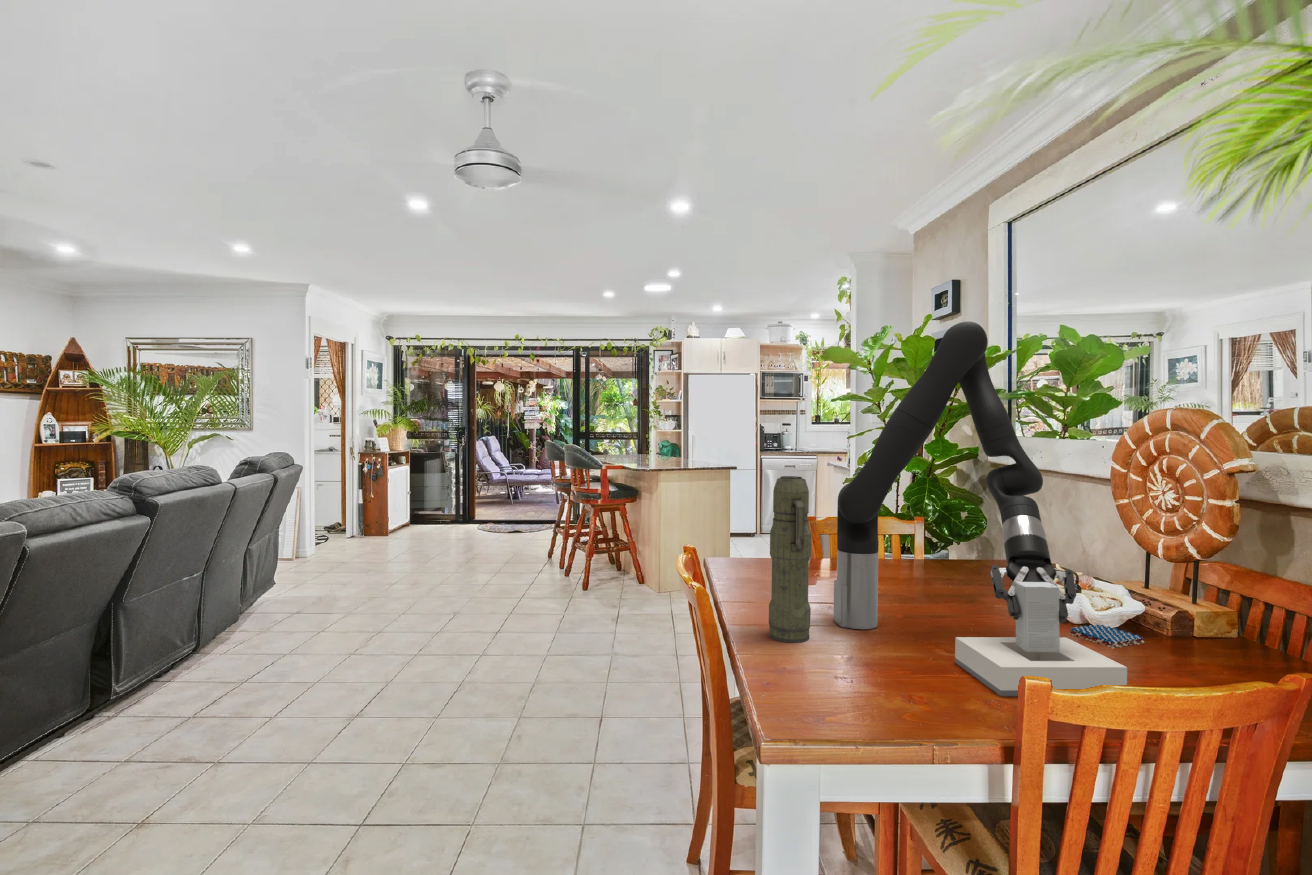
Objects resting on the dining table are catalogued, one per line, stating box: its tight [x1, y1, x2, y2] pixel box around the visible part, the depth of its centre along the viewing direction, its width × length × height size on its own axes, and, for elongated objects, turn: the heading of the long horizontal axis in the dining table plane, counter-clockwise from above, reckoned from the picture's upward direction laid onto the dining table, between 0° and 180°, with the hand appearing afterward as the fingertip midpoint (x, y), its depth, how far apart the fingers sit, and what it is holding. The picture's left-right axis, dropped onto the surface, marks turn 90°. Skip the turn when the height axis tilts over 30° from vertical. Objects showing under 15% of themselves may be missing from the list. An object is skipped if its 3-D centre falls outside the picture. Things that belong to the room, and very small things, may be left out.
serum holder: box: [954, 636, 1128, 697], centre depth 119 cm, size 22×16×5 cm
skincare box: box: [1015, 582, 1061, 652], centre depth 119 cm, size 6×4×12 cm
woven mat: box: [1068, 623, 1145, 649], centre depth 143 cm, size 10×11×2 cm
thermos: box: [768, 475, 812, 644], centre depth 142 cm, size 9×12×35 cm
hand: (1039, 619), depth 117 cm, fingers closed on skincare box, 6 cm apart
